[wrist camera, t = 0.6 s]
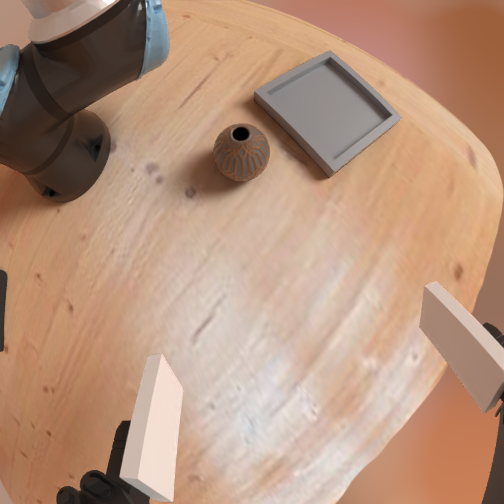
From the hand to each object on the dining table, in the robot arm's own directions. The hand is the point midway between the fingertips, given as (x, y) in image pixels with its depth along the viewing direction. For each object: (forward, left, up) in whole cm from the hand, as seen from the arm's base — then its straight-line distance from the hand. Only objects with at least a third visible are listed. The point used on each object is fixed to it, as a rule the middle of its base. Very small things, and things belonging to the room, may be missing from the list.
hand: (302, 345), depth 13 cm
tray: (-15, +25, -24) cm, 38 cm away
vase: (-16, +9, -24) cm, 30 cm away
